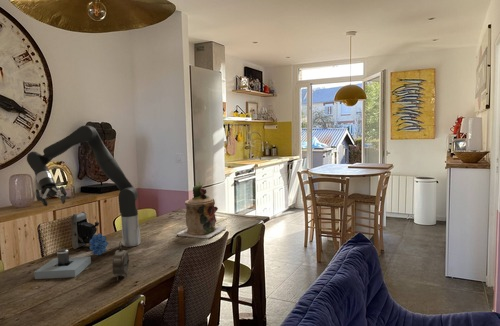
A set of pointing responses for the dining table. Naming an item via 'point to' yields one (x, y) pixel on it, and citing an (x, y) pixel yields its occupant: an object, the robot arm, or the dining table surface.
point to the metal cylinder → (63, 257)
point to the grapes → (98, 244)
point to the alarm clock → (120, 262)
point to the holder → (62, 268)
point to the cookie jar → (200, 215)
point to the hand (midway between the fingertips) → (55, 204)
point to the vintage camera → (81, 230)
